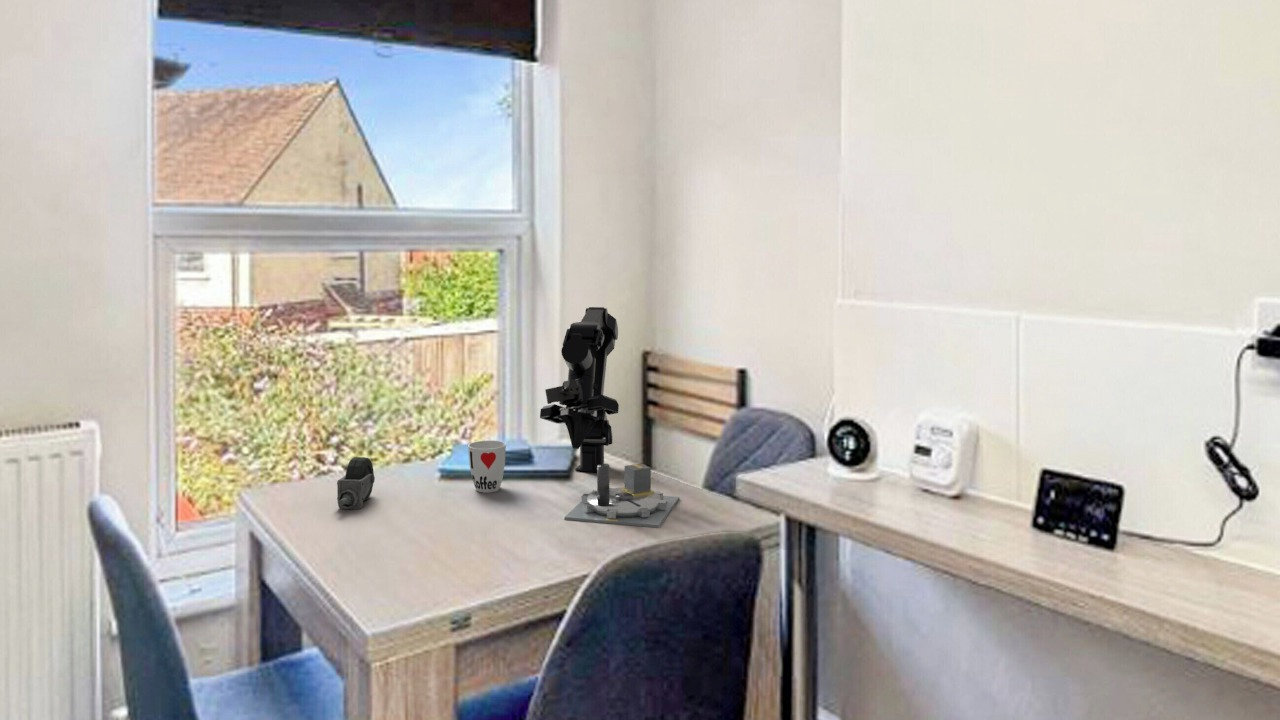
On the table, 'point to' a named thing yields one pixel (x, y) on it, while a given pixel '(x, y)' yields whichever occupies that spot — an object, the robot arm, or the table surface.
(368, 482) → the caster wheel
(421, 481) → the table surface
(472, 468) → the cup
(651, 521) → the base plate
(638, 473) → the link block
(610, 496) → the sprocket
